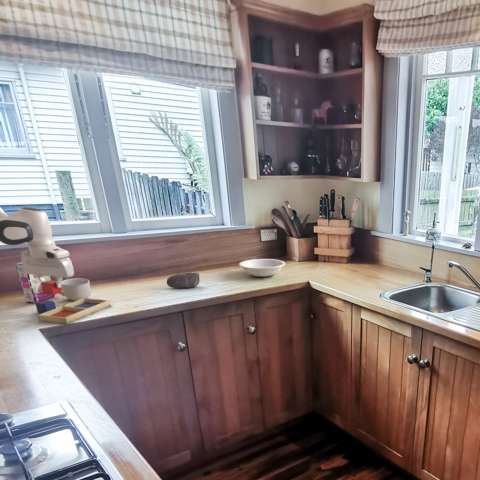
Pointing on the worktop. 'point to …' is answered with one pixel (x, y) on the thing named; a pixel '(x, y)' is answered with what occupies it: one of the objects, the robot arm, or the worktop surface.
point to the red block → (50, 287)
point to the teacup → (76, 288)
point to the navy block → (45, 306)
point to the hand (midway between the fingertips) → (52, 286)
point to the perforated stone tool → (183, 280)
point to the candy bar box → (32, 286)
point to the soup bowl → (262, 267)
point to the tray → (74, 311)
